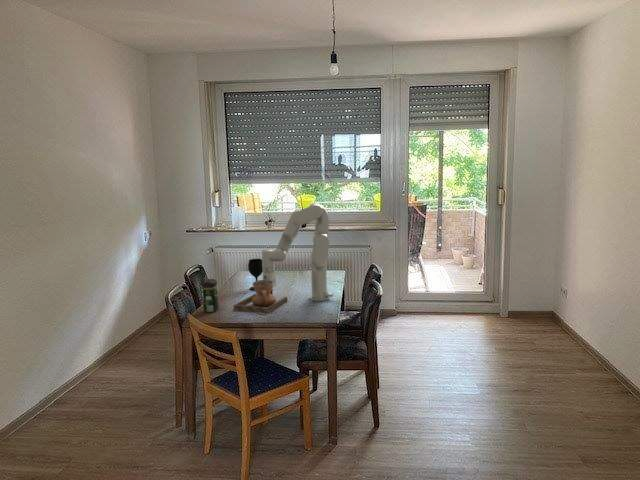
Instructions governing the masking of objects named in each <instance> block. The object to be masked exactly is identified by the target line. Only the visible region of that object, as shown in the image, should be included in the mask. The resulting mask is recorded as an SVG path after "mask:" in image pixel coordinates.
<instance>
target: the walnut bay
mask: <svg viewBox="0 0 640 480" xmlns="http://www.w3.org/2000/svg"><path fill="white" fill-rule="evenodd" d="M256 295H257V294H256V293H254V294H251V295H250V296H248V297H246V298H244V299H242V300H240V301H239V302H236V303H235V304H233V311H240V312H250V313H259V314H260V313H261V314H271V312H273V311H275V310H277V309H278V308H279V307H282V305H285V304H286V303H287V302H288V296H284V297H282V298H280V299H279V300H276V301H275V303H274V304H272V305H270V306H256V305H248V304H250V303H252V299H253V297H254V296H256Z"/></svg>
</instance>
